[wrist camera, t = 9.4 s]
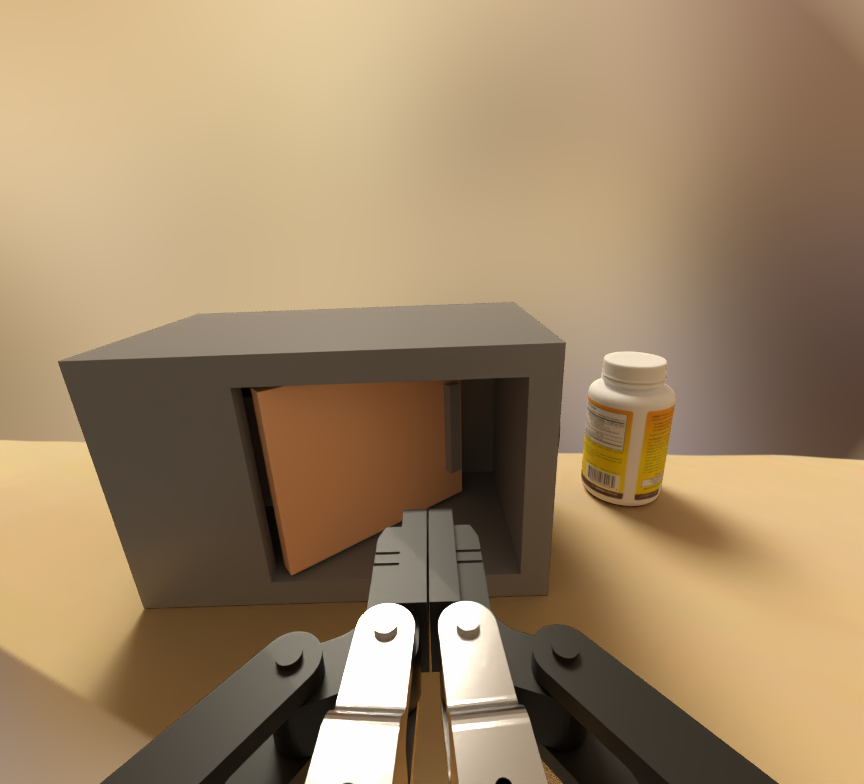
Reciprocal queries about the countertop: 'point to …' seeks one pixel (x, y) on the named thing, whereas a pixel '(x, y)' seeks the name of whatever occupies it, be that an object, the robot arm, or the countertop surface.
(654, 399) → the supplement bottle
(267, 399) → the door
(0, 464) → the countertop surface
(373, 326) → the housing
